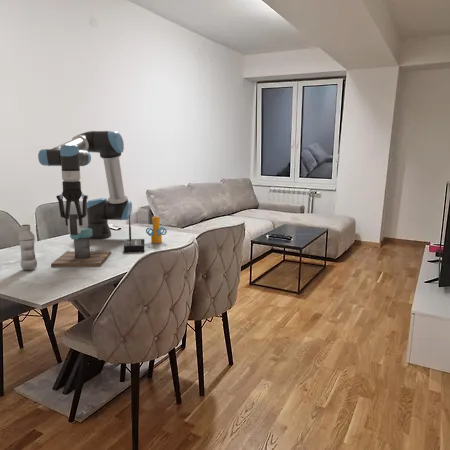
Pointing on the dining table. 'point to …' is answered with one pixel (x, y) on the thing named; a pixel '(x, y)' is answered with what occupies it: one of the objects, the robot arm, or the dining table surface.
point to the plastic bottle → (27, 248)
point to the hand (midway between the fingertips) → (74, 232)
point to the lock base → (83, 262)
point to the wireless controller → (133, 243)
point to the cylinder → (156, 230)
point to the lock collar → (74, 235)
